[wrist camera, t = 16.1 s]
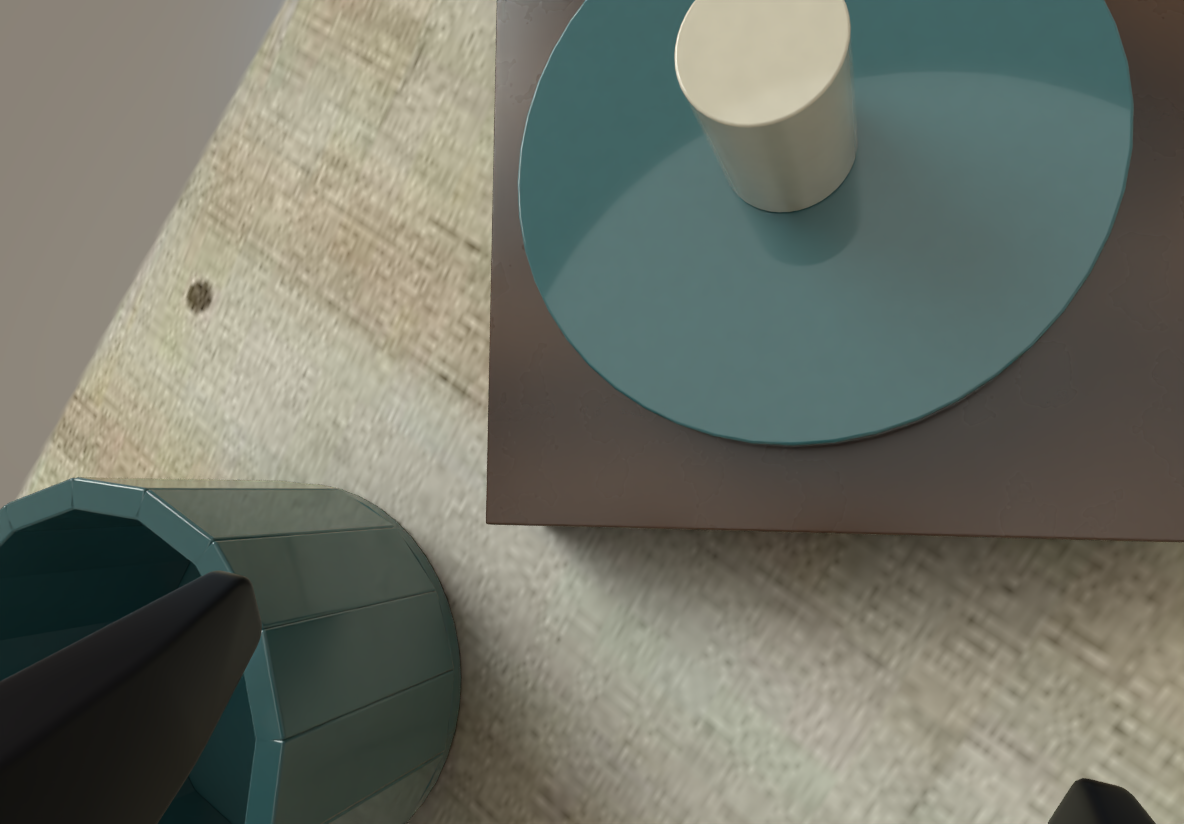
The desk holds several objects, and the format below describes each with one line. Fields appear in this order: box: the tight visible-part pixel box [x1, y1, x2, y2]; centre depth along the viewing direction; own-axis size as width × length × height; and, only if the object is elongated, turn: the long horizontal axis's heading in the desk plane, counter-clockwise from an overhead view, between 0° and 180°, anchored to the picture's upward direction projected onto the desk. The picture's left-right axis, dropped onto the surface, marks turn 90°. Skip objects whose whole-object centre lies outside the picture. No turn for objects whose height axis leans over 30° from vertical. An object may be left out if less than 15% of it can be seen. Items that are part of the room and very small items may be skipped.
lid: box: [518, 0, 1134, 447], centre depth 15 cm, size 12×12×5 cm
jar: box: [0, 477, 461, 824], centre depth 20 cm, size 11×11×7 cm
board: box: [486, 0, 1184, 542], centre depth 18 cm, size 15×14×3 cm
